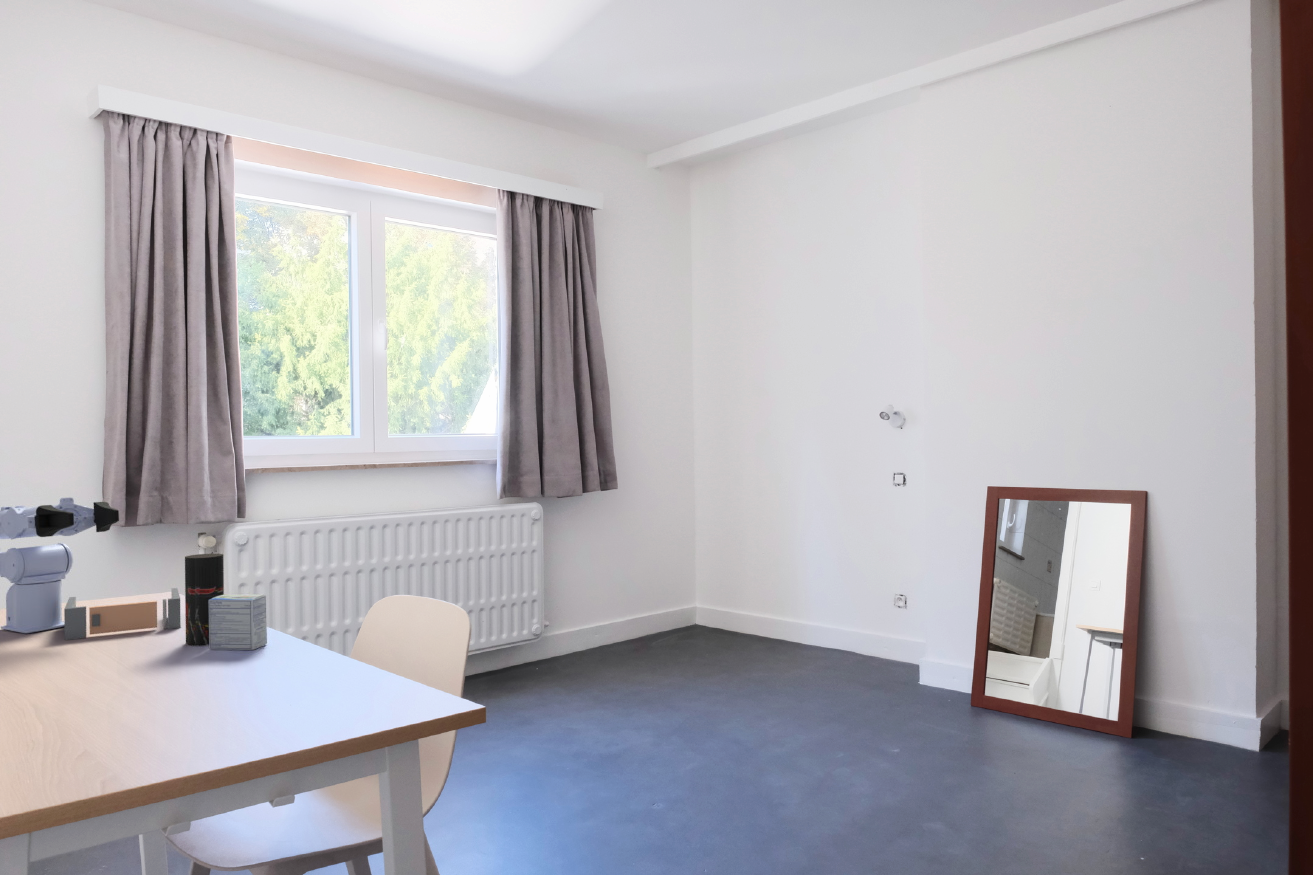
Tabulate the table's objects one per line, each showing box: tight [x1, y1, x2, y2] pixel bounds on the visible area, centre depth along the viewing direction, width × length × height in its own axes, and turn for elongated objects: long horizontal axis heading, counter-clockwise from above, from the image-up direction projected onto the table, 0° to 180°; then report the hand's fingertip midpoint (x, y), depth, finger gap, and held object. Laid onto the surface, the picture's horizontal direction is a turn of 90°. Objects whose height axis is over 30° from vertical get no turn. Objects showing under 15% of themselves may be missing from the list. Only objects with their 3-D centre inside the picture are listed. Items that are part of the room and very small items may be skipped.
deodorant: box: [184, 553, 225, 647], centre depth 150 cm, size 6×6×15 cm
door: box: [88, 600, 158, 635], centre depth 158 cm, size 2×10×5 cm, turn 121°
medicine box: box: [208, 593, 268, 651], centre depth 146 cm, size 8×4×9 cm, turn 84°
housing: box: [63, 587, 181, 641], centre depth 163 cm, size 14×18×6 cm
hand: (94, 517), depth 154 cm, fingers open, 7 cm apart
